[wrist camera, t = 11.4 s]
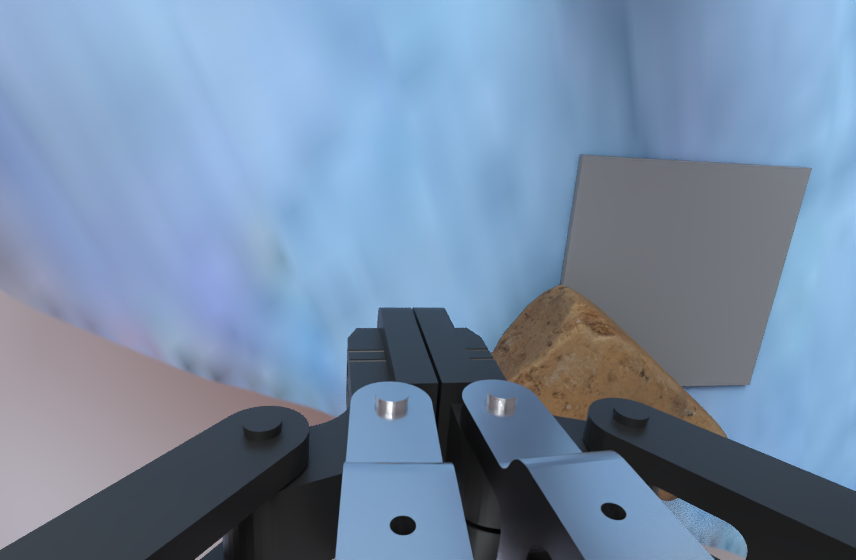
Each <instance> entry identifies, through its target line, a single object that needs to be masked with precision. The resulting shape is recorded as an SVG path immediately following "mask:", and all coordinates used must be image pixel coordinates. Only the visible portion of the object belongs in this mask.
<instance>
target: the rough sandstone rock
mask: <svg viewBox="0 0 856 560" xmlns="http://www.w3.org/2000/svg"><path fill="white" fill-rule="evenodd" d="M491 355H492V356H493V360H495V361H496V363H497V365H498V366H499V368H500V370H501V371H502V373H503V375H504V376H505V378H506V380H507V381H509V382H513V383H516V384H519V385H521V386H524V387H526V388H527V389H529V390H531V391H532V392H533V393H534V394H535V395H536V396H537V397H538V398H539V399H540V401H541V402H542V403H543V404H544V406H545V407H546V408H547V409H548V411H549V412H550V413H551V414H552V415H554V416H559V417H566V418H572V419H578V420H585V421H586V419H587V414H588V408H589V406H590V405H591V404H592V403H593V402H594V401H596V400H599V399H603V398H623V399H629V400H633V401H637V402H640V403H643V404H645V405H648V406H650V407H653V408H655V409H657V410H660V411H662V412H665V413H667V414H670V415H672V416H674V417H677V418H679V419H682V420H684V421H686V422H689V423H691V424H694V425H696V426H699V427H701V428H703V429H706V430H708V431H711V432H713V433H716V434H718V435H720V436H723V437H725V438H727V436H726V434H725V433H724V431H723V430H722V429H721V427H720V426H719V425H718V424H717V422H716V421H715V420H714V419H713V418H712V417H711V416H710V415H709V414H708V413H707V412H706V411H705V410H704V409H703V408H702V407H701V406H700V405H699V404H698V403H697V402H696V401H695V400H694V399H693V398H692V397H691V396H690V395H689V394H688V393H687V392H686V391H685V390H684V389H683V388H682V387H681V386H680V385H679V384H678V383H677V382H676V381H675V380H674V379H673V378H672V377H671V376H670V375H669V374H668V373H667V372H666V371H665V370H664V369H663V368H662V367H661V366H660V365H659V364H658V363H657V362H656V361H655V360H654V359H653V358H652V357H651V356H650V355H649V354H648V353H647V352H646V351H645V350H644V349H643V348H642V347H641V346H640V345H639V344H638V343H637V342H636V341H635V340H634V339H632V338H631V337H630V336H629V335H628V334H627V333H626V332H625V331H624V330H623V329H622V328H621V327H620V326H619V325H618V324H617V323H616V322H615V321H614V320H612V319H611V318H610V317H609V316H608V315H607V314H606V313H605V312H604V311H603V310H601V309H600V308H599V307H598V306H597V305H595V304H594V303H593V302H591V301H590V300H589V299H587V298H586V297H584V296H583V295H582V294H580V293H578V292H576V291H575V290H573V289H571V288H569V287H567V286H562V285H558V286H556V287H554V288H552V289H550V290H548V291H546V292H545V293H543V294H542V295H540V296H539V297H538V298H536V299H535V300H534V301H533V302H531V303H530V304H529V305H528V306H527V307H526V308H525V309H524V310H523V311H522V313H521V314H520V315H519V316H518V318H517V319H516V320H515V321H514V322H513V323H512V324H511V326H510V327H509V328H508V329H507V330H506V331H505V333H504V334H503V335H502V337H501V338H500V340H499V342H498V344H497V346H496V348H495V349H494V351H493V352H492V353H491ZM658 497H659V498H660V499H662V500H665V501H671V500H675V499H677V498H678V497H676V496H674V495H672V494H670V493H668V492H666V491H664V490H662V489H660V488H659V492H658Z"/></svg>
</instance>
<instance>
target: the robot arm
mask: <svg viewBox="0 0 856 560" xmlns="http://www.w3.org/2000/svg"><path fill="white" fill-rule="evenodd" d="M346 404H347V410H346V411H345V412H344V413H343V414H342V415H340V416H339V417H337V418H335V419H333V420H331V421H328V422H326V423H322V424H319V425H315V426H310V427H309V424H308V421H307V419H306V418H305V417H304V416H303V415H301V414H300V413H299V412H297V411H294V410H292V409H289V408H285V407H279V406H260V407H254V408H249V409H246V410H242V411H240V412H237V413H235V414H233V415H231V416H229V417H228V418H226V419H224V420H222V421H220V422H219V423H217V424H215V425H213V426H212V427H210V428H208V429H207V430H205V431H203V432H202V433H200V434H198V435H196V436H195V437H193V438H191V439H189V440H188V441H186V442H184V443H183V444H181V445H179V446H178V447H176V448H174V449H173V450H171V451H169V452H167V453H166V454H164V455H162V456H160V457H159V458H157V459H155V460H154V461H152V462H150V463H149V464H147V465H145V466H144V467H142V468H140V469H138V470H136V471H135V472H133V473H131V474H130V475H128V476H126V477H124V478H123V479H121V480H119V481H118V482H116V483H114V484H112V485H111V486H109V487H107V488H106V489H104V490H102V491H100V492H99V493H97V494H95V495H94V496H92V497H90V498H88V499H87V500H85V501H83V502H82V503H80V504H78V505H76V506H75V507H73V508H71V509H70V510H68V511H66V512H65V513H63V514H61V515H60V516H58V517H56V518H54V519H53V520H51V521H49V522H47V523H46V524H44V525H42V526H41V527H39V528H37V529H35V530H34V531H32V532H30V533H29V534H27V535H25V536H23V537H22V538H20V539H18V540H17V541H15V542H13V543H11V544H10V545H8V546H6V547H5V548H3V549H1V550H0V560H195V558H197V557H198V556H199V555H200V554H202V553H203V552H204V551H205V550H207V549H208V548H209V547H210V546H212V545H213V544H214V543H215V542H217V541H218V540H219V539H220V538H222V537H223V541H222V542H221V543H220V544H219V545H218V546H216V547H215V548H214V549H213V550H211V551H210V552H209V553H208V554H206V555H205V556H204V557H203V558H202V559H200V560H332V559H334V558H335V560H720V559H718V558H716V557H714V556H712V555H711V554H709V553H708V552H707V551H706V550H705V548H704V547H703V546H702V545H701V544H700V543H699V542H698V541H697V539H696V538H695V537H694V536H693V535H692V534H691V533H690V532H689V531H688V530H687V528H686V527H685V526H684V525H683V524H682V523H681V522H680V521H679V520H678V518H677V517H676V516H675V515H674V514H673V513H672V512H671V511H670V510H669V508H668V507H667V506H666V505H665V504H664V503H663V502H662V501H661V500H660V498H659V497H658V492H659V488H660V489H662V490H664V491H666V492H668V493H670V494H672V495H674V496H676V497H678V498H680V499H682V500H684V501H686V502H688V503H690V504H692V505H694V506H696V507H698V508H700V509H702V510H704V511H706V512H708V513H710V514H712V515H714V516H716V517H718V518H720V519H722V520H724V521H726V522H727V523H729V524H731V525H732V526H733V527H735V528H736V529H737V530H738V531H739V532H740V534H741V535H742V536H743V538H744V539H745V542H746V544H747V549H748V553H747V557H746V560H856V491H854V490H851V489H849V488H846V487H844V486H841V485H839V484H837V483H834V482H832V481H829V480H827V479H825V478H822V477H820V476H817V475H815V474H812V473H810V472H808V471H805V470H803V469H800V468H798V467H795V466H793V465H791V464H788V463H786V462H783V461H781V460H779V459H776V458H774V457H771V456H769V455H766V454H764V453H762V452H759V451H757V450H754V449H752V448H749V447H747V446H745V445H742V444H740V443H737V442H735V441H733V440H730V439H728V438H725V437H723V436H720V435H718V434H716V433H713V432H711V431H708V430H706V429H703V428H701V427H699V426H696V425H694V424H691V423H689V422H686V421H684V420H682V419H679V418H677V417H674V416H672V415H670V414H667V413H665V412H662V411H660V410H657V409H655V408H653V407H650V406H648V405H645V404H643V403H640V402H637V401H633V400H629V399H623V398H603V399H599V400H596V401H594V402H593V403H592V404H591V405H590V406H589V408H588V414H587V419H586V421H585V420H578V419H572V418H566V417H559V416H554V415H552V414H551V413H550V412H549V411H548V409H547V408H546V407H545V406H544V404H543V403H542V402H541V401H540V399H539V398H538V397H537V396H536V395H535V394H534V393H533V392H532V391H531V390H529V389H527V388H526V387H524V386H521V385H519V384H516V383H513V382H509V381H507V380H506V378H505V376H504V375H503V373H502V371H501V370H500V368H499V366H498V365H497V363H496V361H495V360H493V356H492V355H491V353H490V351H488V348H487V346H486V345H485V343H484V341H483V340H482V338H481V337H480V336H478V335H477V334H475V333H474V332H472V331H471V330H469V329H468V328H454V326H453V324H452V322H451V320H450V318H449V316H448V314H447V312H446V310H445V308H412V309H411V308H379V311H378V323H377V328H356V330H355V331H354V332H353V333H352V334H351V335H350V336H349V337H348V349H347V388H346Z"/></svg>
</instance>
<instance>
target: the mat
mask: <svg viewBox="0 0 856 560" xmlns="http://www.w3.org/2000/svg"><path fill="white" fill-rule="evenodd" d="M811 169H812V168H806V167H788V166H771V165H753V164H736V163H718V162H700V161H683V160H665V159H648V158H630V157H613V156H595V155H580V158H579V165H578V171H577V178H576V184H575V191H574V197H573V204H572V210H571V217H570V223H569V229H568V236H567V242H566V249H565V255H564V262H563V268H562V275H561V281H560V285H562V286H567V287H569V288H571V289H573V290H575V291H576V292H578V293H580V294H582V295H583V296H584V297H586V298H587V299H589V300H590V301H591V302H593V303H594V304H595V305H597V306H598V307H599V308H600V309H601V310H603V311H604V312H605V313H606V314H607V315H608V316H609V317H610V318H611V319H612V320H614V321H615V322H616V323H617V324H618V325H619V326H620V327H621V328H622V329H623V330H624V331H625V332H626V333H627V334H628V335H629V336H630V337H631V338H632V339H634V340H635V341H636V342H637V343H638V344H639V345H640V346H641V347H642V348H643V349H644V350H645V351H646V352H647V353H648V354H649V355H650V356H651V357H652V358H653V359H654V360H655V361H656V362H657V363H658V364H659V365H660V366H661V367H662V368H663V369H664V370H665V371H666V372H667V373H668V374H669V375H670V376H671V377H672V378H673V379H674V380H675V381H676V382H677V383H678V384H679V385H680V386H718V385H749V384H750V381H751V377H752V374H753V370H754V367H755V363H756V360H757V356H758V353H759V350H760V346H761V343H762V339H763V336H764V332H765V329H766V325H767V322H768V318H769V315H770V311H771V308H772V304H773V301H774V298H775V294H776V291H777V287H778V284H779V280H780V277H781V273H782V270H783V266H784V263H785V259H786V256H787V252H788V249H789V246H790V242H791V239H792V235H793V232H794V228H795V225H796V221H797V218H798V214H799V211H800V207H801V204H802V200H803V197H804V194H805V190H806V187H807V183H808V180H809V176H810V173H811Z"/></svg>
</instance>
